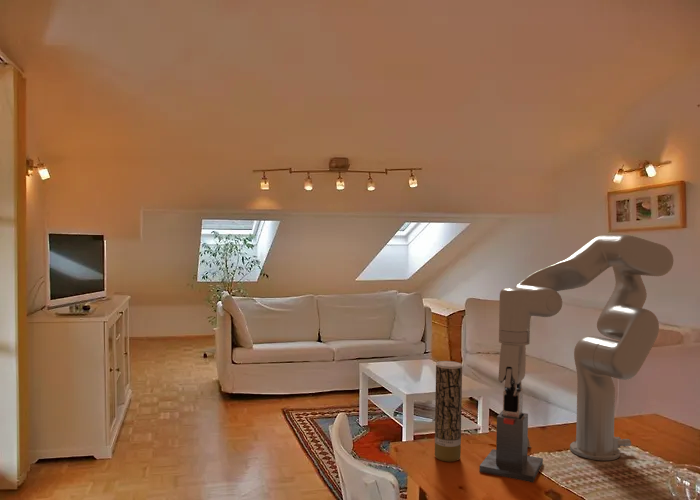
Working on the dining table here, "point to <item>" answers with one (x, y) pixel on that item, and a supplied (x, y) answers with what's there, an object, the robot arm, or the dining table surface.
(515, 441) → the stand
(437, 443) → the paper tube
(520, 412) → the column
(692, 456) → the dining table surface
